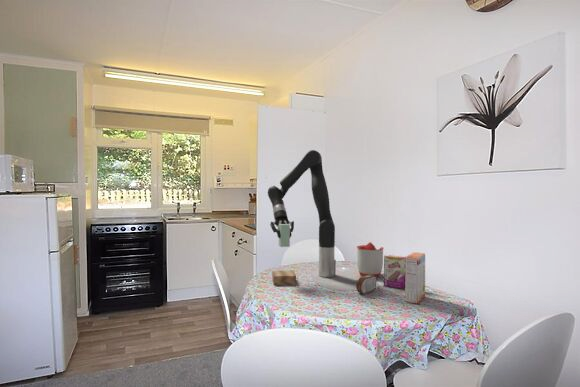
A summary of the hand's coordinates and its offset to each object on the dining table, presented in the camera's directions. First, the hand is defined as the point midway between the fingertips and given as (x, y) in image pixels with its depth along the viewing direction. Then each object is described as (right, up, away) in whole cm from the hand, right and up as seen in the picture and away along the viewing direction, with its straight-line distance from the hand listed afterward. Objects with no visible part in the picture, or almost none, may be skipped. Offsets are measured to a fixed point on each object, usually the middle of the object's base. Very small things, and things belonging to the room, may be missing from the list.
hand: (285, 237), depth 183 cm
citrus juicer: (+51, -25, +17) cm, 60 cm away
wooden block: (-1, -25, +2) cm, 25 cm away
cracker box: (+62, -26, -25) cm, 72 cm away
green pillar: (-1, -5, +2) cm, 6 cm away
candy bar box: (+58, -26, -6) cm, 64 cm away
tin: (+41, -26, -15) cm, 51 cm away
